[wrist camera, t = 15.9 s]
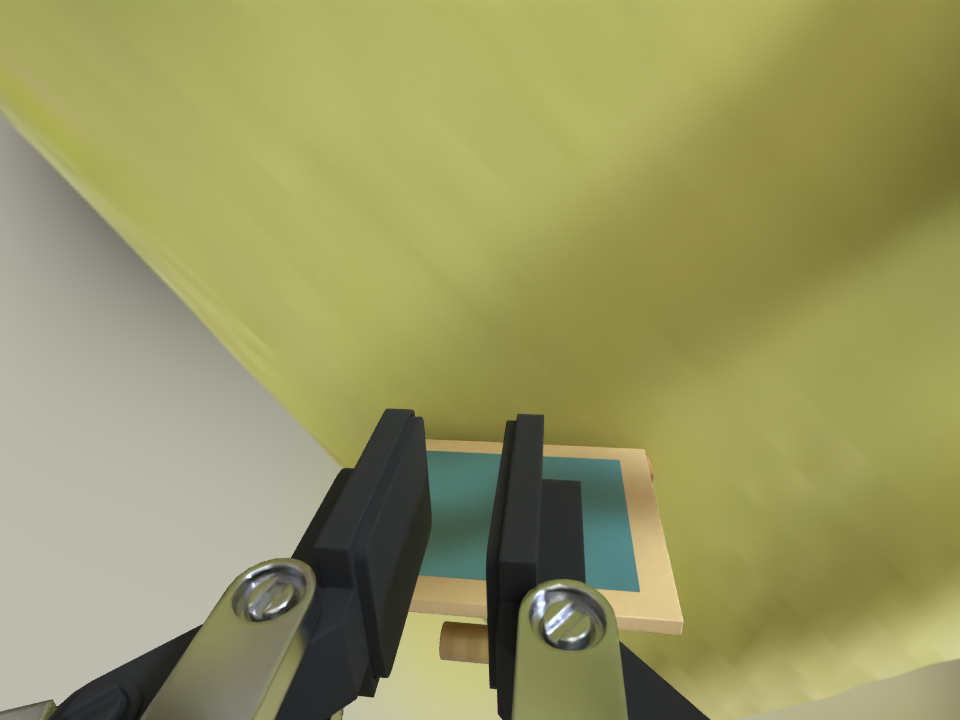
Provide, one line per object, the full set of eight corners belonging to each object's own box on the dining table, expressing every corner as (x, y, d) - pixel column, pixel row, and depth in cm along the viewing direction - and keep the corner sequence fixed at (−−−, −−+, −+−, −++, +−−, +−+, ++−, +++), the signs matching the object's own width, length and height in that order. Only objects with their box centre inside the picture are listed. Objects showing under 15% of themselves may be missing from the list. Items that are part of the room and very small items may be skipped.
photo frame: (335, 591, 24) (351, 672, 26) (684, 620, 22) (668, 705, 24) (402, 436, 34) (410, 504, 36) (644, 448, 32) (636, 518, 34)
